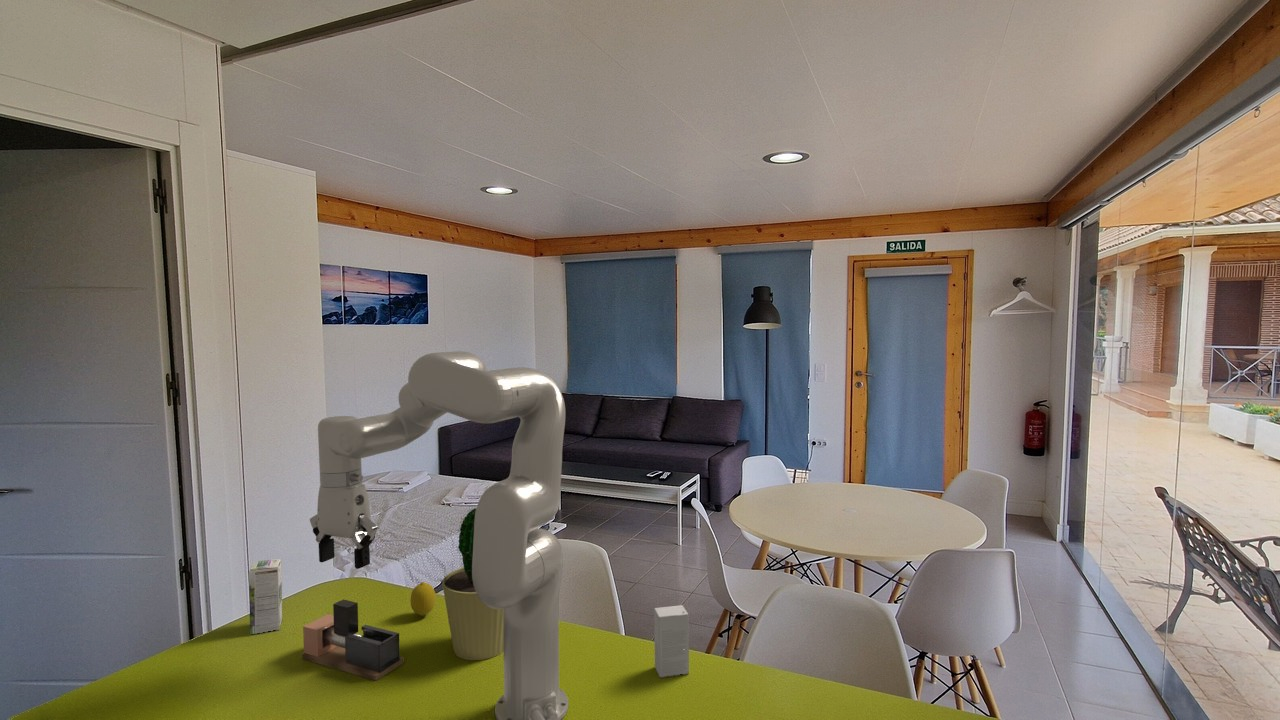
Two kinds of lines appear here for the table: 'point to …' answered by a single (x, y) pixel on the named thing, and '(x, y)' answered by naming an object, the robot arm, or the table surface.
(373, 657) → the dark grey open box
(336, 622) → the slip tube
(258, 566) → the syrup box
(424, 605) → the lemon
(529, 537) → the robot arm
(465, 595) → the potted cactus
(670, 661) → the skincare box
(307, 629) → the socket block
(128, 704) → the table surface
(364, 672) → the base board
